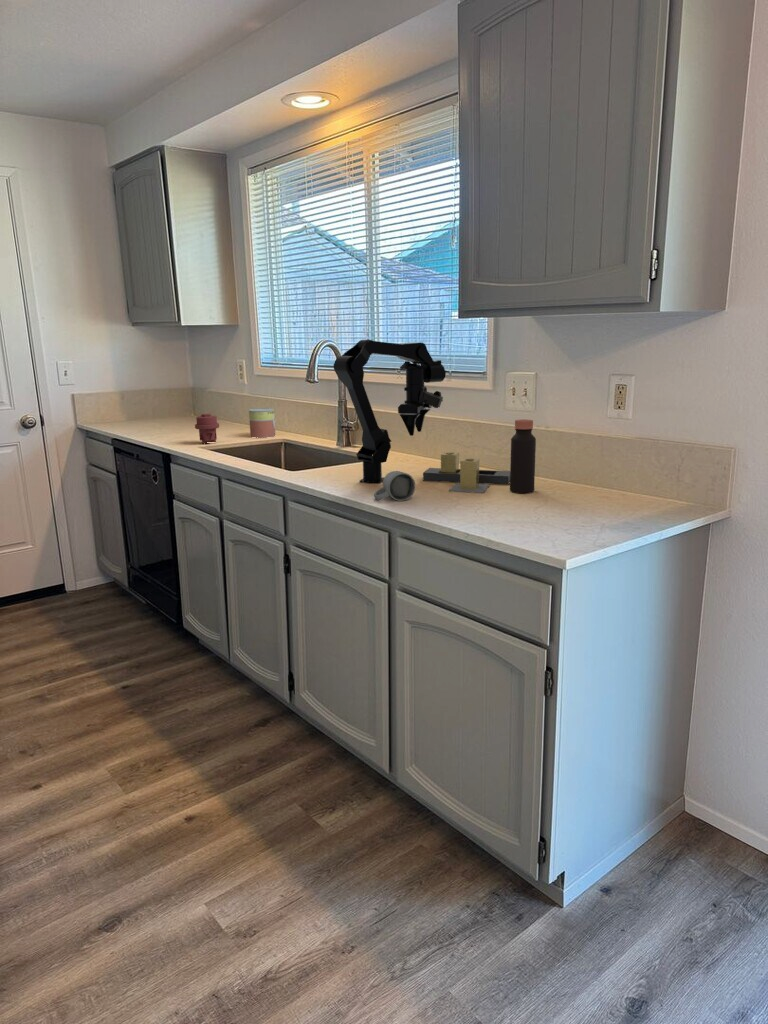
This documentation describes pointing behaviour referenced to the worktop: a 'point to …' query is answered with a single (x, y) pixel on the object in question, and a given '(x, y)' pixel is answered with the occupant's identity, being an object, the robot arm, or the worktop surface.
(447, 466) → the khaki square post block
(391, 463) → the worktop surface
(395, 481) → the ceramic mug
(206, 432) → the mechanical component
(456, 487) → the grey pad
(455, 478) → the rack rail
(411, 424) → the robot arm
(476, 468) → the olive beige rectangular block
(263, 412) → the canned food
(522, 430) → the bottle
